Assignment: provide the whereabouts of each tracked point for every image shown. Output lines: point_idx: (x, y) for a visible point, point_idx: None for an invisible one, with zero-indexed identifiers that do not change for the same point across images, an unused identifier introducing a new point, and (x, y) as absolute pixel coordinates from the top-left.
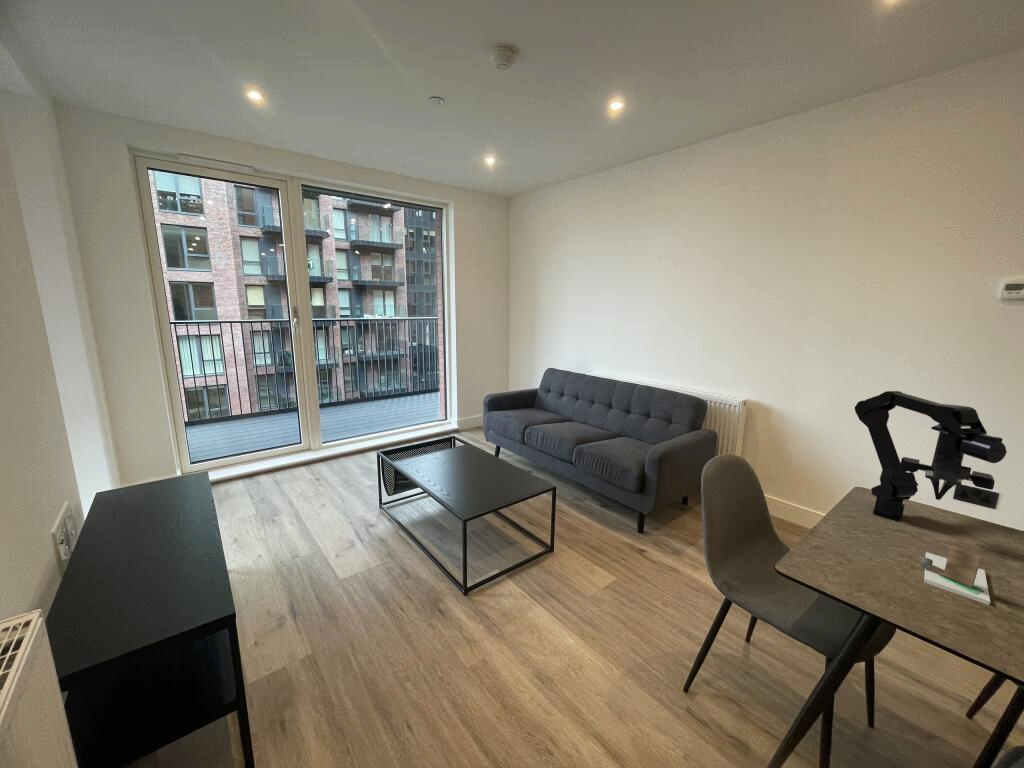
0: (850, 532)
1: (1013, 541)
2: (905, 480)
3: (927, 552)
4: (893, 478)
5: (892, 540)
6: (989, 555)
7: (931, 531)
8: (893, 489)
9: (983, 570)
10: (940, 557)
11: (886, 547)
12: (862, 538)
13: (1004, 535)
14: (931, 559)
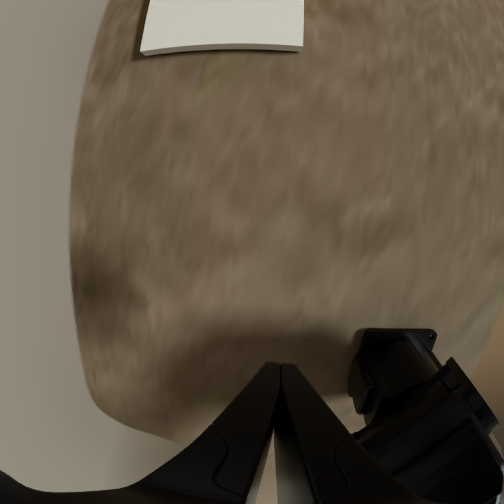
0: (497, 102)
1: (88, 382)
2: (433, 487)
3: (298, 44)
4: (499, 455)
5: (401, 115)
6: (115, 237)
7: (265, 320)
8: (477, 395)
9: (143, 47)
10: (258, 35)
11: (410, 44)
12: (469, 74)
13: (106, 406)
14: (287, 2)
